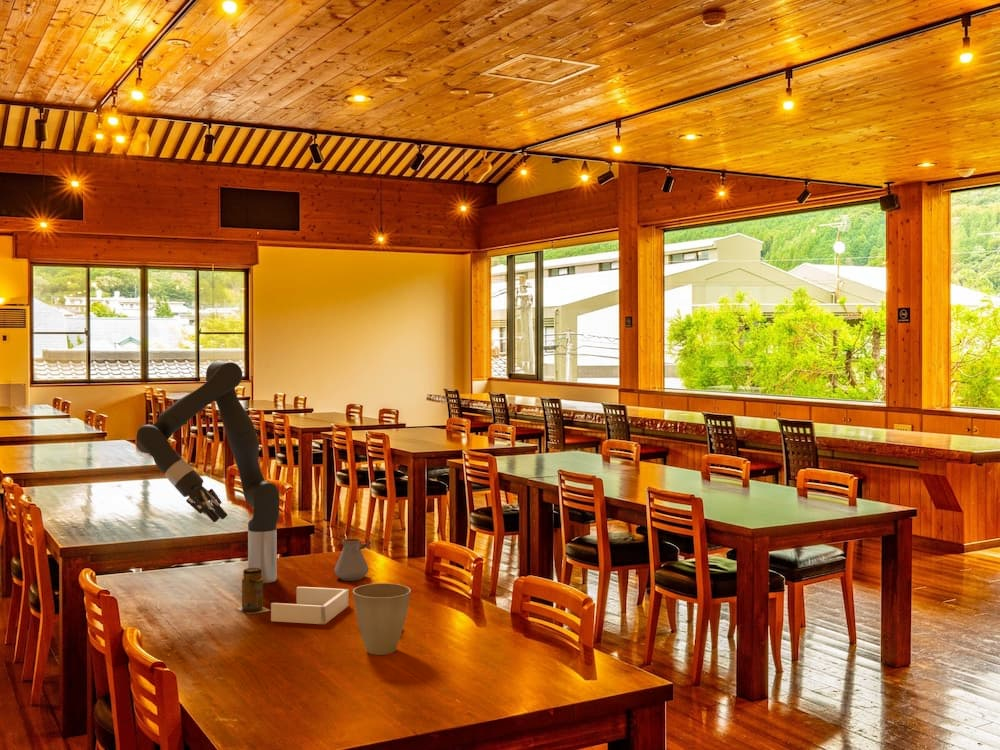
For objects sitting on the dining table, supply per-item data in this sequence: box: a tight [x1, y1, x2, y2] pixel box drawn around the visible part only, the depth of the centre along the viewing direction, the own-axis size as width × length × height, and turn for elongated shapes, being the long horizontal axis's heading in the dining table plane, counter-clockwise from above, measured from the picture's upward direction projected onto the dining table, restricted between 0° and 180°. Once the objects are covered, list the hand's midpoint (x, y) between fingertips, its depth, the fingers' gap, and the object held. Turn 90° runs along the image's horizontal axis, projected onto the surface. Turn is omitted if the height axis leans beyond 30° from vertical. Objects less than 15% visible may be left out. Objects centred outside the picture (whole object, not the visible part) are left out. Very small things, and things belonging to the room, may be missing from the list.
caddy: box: [270, 586, 350, 625], centre depth 295 cm, size 20×16×5 cm
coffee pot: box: [334, 538, 374, 582], centre depth 334 cm, size 21×12×15 cm, turn 31°
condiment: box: [235, 567, 271, 615], centre depth 298 cm, size 7×8×12 cm
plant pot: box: [352, 582, 411, 656], centre depth 260 cm, size 15×15×16 cm
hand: (221, 518), depth 303 cm, fingers open, 4 cm apart
